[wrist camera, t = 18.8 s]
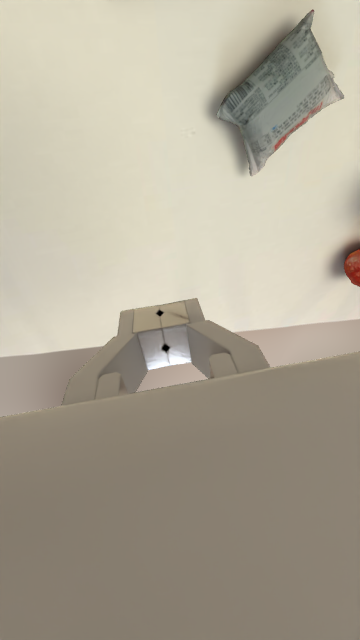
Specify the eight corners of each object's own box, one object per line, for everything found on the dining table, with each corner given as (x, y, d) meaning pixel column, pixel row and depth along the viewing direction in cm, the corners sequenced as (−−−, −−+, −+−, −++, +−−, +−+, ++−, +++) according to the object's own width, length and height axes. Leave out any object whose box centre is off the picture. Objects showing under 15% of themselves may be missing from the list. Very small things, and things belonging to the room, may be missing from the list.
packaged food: (329, 102, 30) (357, 95, 26) (246, 175, 34) (260, 179, 30) (300, 15, 26) (329, -9, 22) (209, 110, 29) (219, 105, 25)
